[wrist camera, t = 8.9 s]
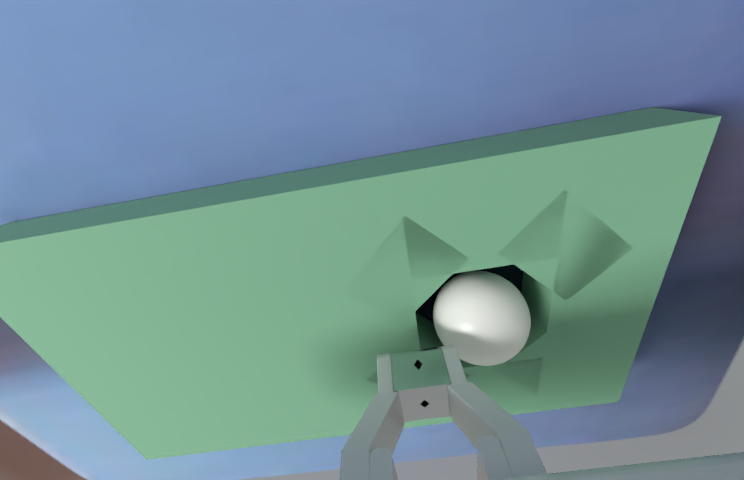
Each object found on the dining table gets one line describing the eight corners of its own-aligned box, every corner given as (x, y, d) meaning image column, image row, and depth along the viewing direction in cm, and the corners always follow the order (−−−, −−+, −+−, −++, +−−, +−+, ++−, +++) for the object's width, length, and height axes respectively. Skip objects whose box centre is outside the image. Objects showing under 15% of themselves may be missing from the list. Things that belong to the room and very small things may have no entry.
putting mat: (8, 222, 13) (-64, 253, 11) (652, 107, 11) (722, 115, 9) (170, 416, 20) (146, 459, 17) (587, 361, 18) (618, 401, 16)
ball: (409, 286, 13) (496, 336, 10) (467, 243, 15) (554, 275, 12) (419, 349, 15) (494, 406, 12) (469, 304, 17) (544, 344, 14)
